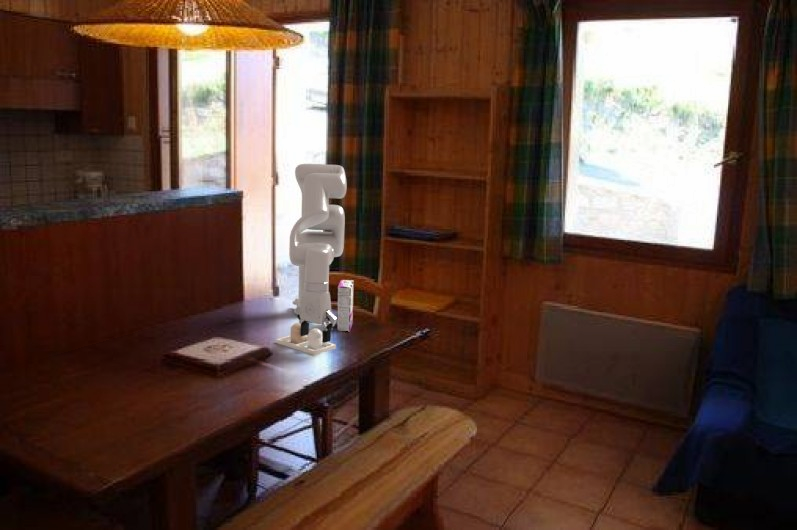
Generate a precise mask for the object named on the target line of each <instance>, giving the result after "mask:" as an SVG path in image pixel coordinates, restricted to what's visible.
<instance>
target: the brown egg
mask: <svg viewBox="0 0 797 530" xmlns="http://www.w3.org/2000/svg"><path fill="white" fill-rule="evenodd" d="M290 335H291V339H290V340H289V342H290V343H293V344H299V343H303V342H306V340H305V336H306V335H305V336H301V324H300V323H299V322H296V323H294V324H292V326H290Z"/></svg>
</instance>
